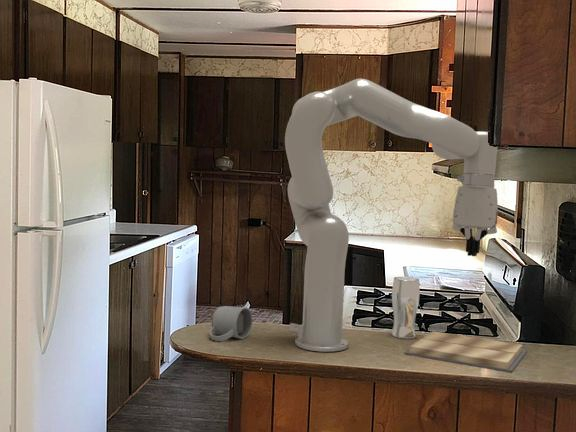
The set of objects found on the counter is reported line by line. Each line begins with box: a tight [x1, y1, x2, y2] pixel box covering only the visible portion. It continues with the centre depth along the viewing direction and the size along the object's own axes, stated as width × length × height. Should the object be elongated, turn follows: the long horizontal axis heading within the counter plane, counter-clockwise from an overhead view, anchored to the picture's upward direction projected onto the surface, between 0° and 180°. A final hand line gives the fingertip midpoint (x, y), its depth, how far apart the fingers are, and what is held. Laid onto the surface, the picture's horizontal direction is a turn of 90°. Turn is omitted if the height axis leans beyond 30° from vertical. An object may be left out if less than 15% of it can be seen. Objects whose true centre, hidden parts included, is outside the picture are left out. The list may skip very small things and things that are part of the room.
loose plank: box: [421, 330, 523, 359], centre depth 159 cm, size 22×9×2 cm, turn 61°
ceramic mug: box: [209, 305, 253, 342], centre depth 161 cm, size 11×8×8 cm
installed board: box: [408, 338, 515, 369], centre depth 151 cm, size 22×9×2 cm, turn 61°
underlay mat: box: [404, 349, 528, 374], centre depth 155 cm, size 24×20×1 cm
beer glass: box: [391, 276, 420, 340], centre depth 170 cm, size 7×7×15 cm
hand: (472, 255), depth 163 cm, fingers closed
